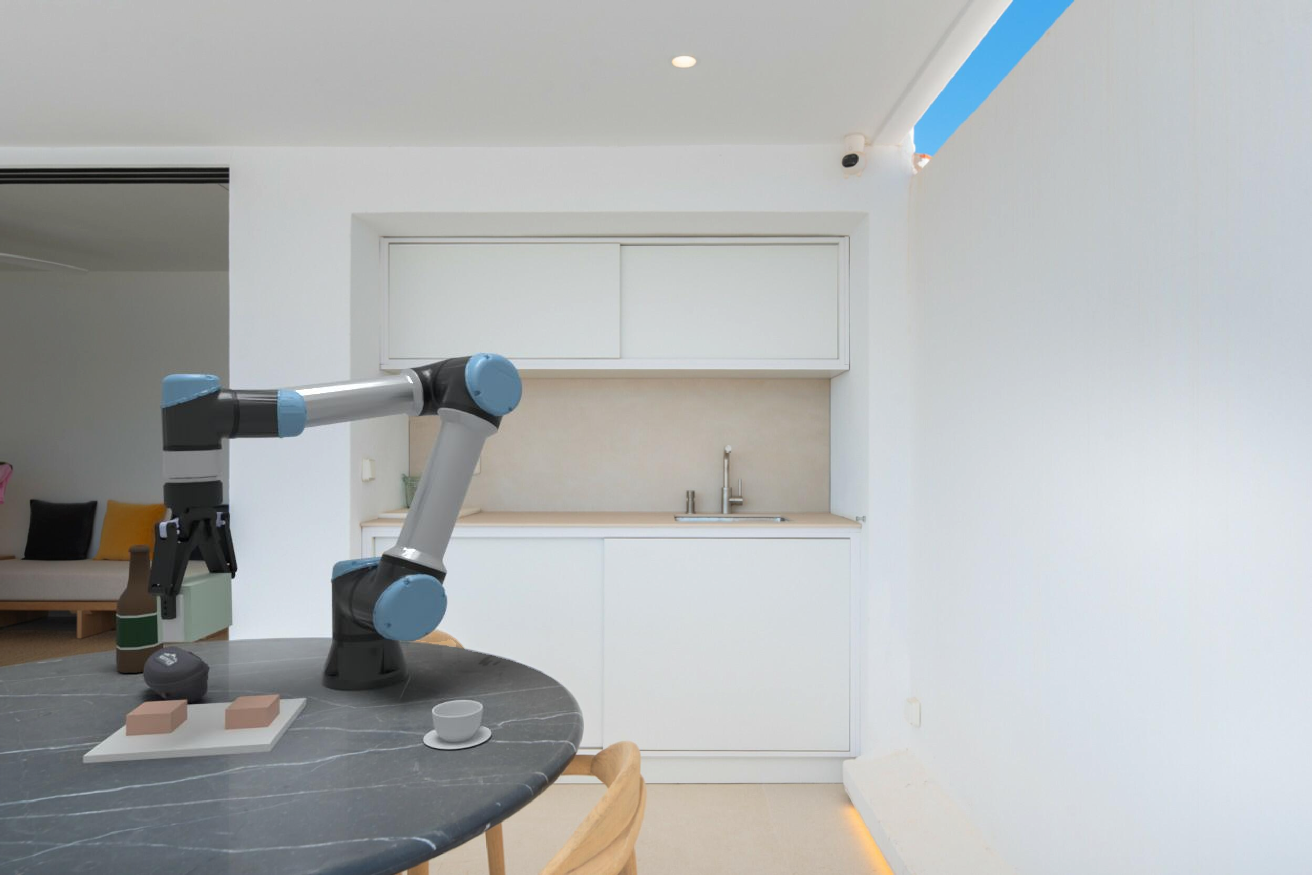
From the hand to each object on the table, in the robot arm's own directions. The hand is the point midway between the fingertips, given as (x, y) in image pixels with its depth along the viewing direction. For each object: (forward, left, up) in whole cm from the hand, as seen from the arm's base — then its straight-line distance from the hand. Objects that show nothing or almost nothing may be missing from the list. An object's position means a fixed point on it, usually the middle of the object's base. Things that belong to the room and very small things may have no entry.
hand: (197, 631), depth 115 cm
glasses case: (+11, -24, -17) cm, 31 cm away
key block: (0, 0, 0) cm, 0 cm away
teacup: (-38, +4, -17) cm, 41 cm away
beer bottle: (+27, -44, -17) cm, 54 cm away
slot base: (+1, -5, -17) cm, 17 cm away
